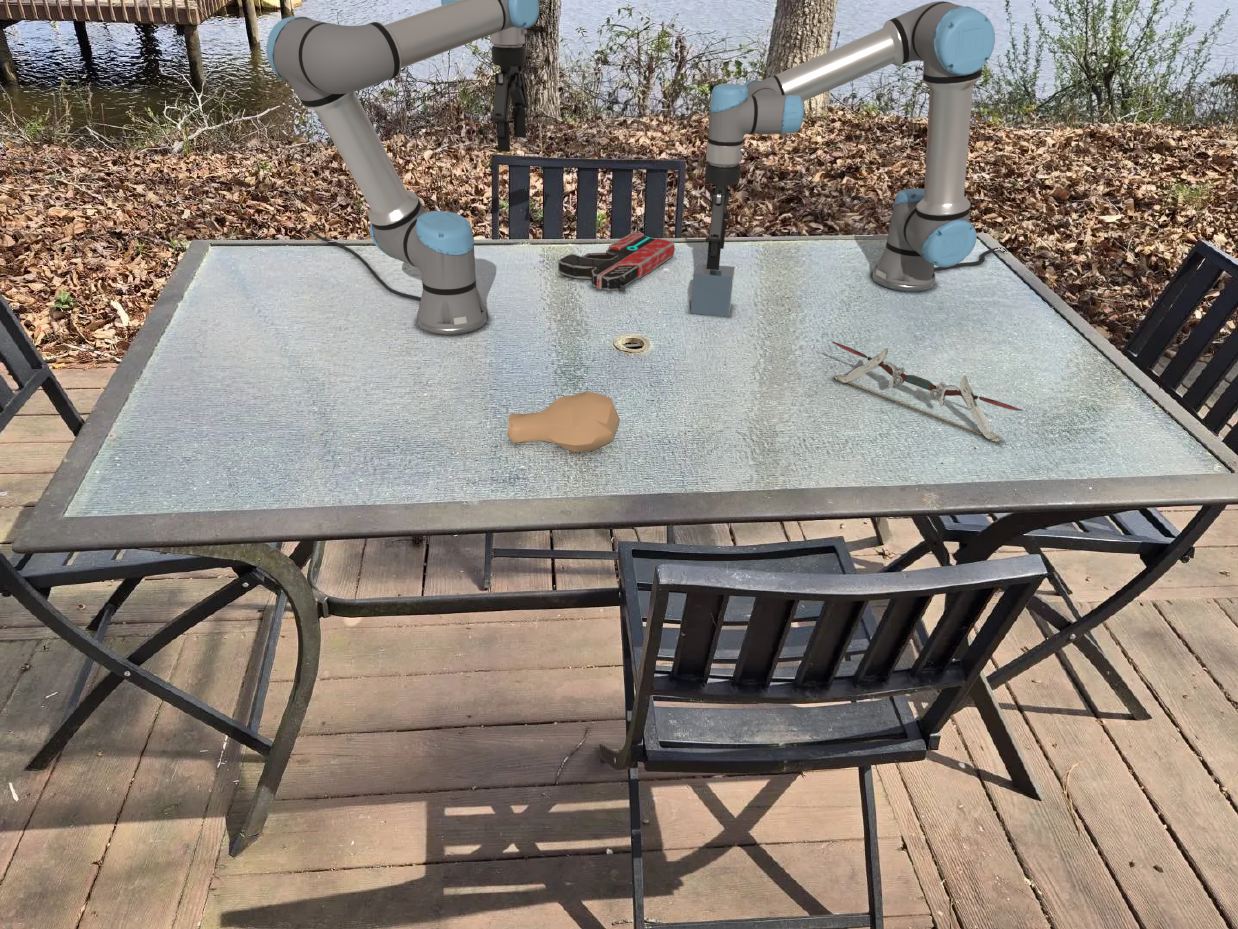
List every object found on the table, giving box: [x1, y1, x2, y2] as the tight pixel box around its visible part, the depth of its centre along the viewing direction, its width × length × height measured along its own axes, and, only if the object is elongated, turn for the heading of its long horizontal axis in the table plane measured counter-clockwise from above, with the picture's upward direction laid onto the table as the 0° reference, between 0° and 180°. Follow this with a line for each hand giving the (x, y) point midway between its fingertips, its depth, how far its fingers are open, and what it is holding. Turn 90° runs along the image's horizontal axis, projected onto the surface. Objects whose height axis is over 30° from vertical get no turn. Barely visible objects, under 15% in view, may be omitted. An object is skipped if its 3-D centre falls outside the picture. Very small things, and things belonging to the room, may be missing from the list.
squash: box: [506, 390, 621, 453], centre depth 154 cm, size 11×20×9 cm, turn 90°
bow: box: [831, 341, 1023, 443], centre depth 166 cm, size 39×2×10 cm, turn 47°
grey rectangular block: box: [689, 263, 736, 318], centre depth 204 cm, size 7×9×10 cm
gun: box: [557, 232, 676, 292], centre depth 225 cm, size 4×31×19 cm
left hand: (512, 143), depth 207 cm, fingers open, 13 cm apart
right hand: (715, 258), depth 199 cm, fingers open, 13 cm apart
